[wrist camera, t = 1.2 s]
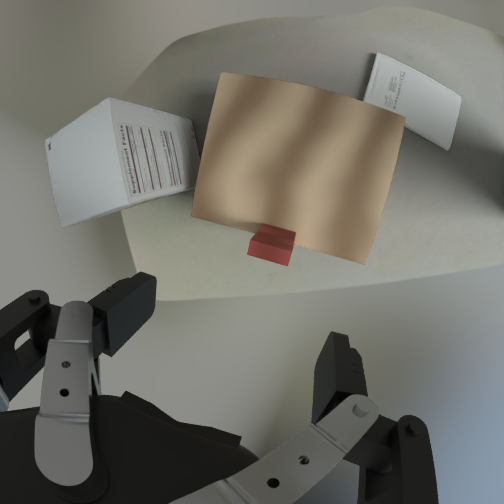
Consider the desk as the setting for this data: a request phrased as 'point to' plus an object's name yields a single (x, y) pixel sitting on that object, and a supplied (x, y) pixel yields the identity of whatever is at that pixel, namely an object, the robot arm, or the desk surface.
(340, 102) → the lid
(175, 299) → the desk surface
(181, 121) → the supplement box
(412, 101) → the external hard drive
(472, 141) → the desk surface
